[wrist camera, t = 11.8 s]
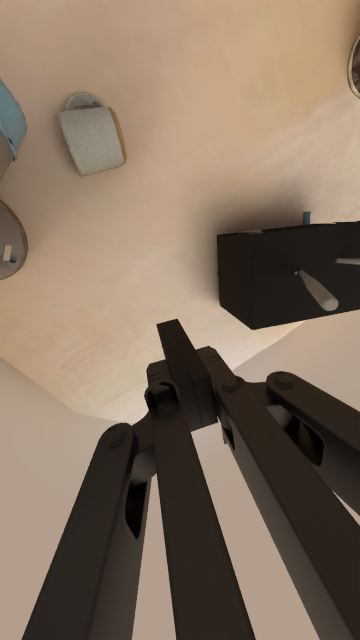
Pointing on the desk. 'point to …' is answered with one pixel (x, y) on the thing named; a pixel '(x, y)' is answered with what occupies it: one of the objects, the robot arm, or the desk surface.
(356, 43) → the coffee can
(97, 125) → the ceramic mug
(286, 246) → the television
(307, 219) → the tape line
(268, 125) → the desk surface
